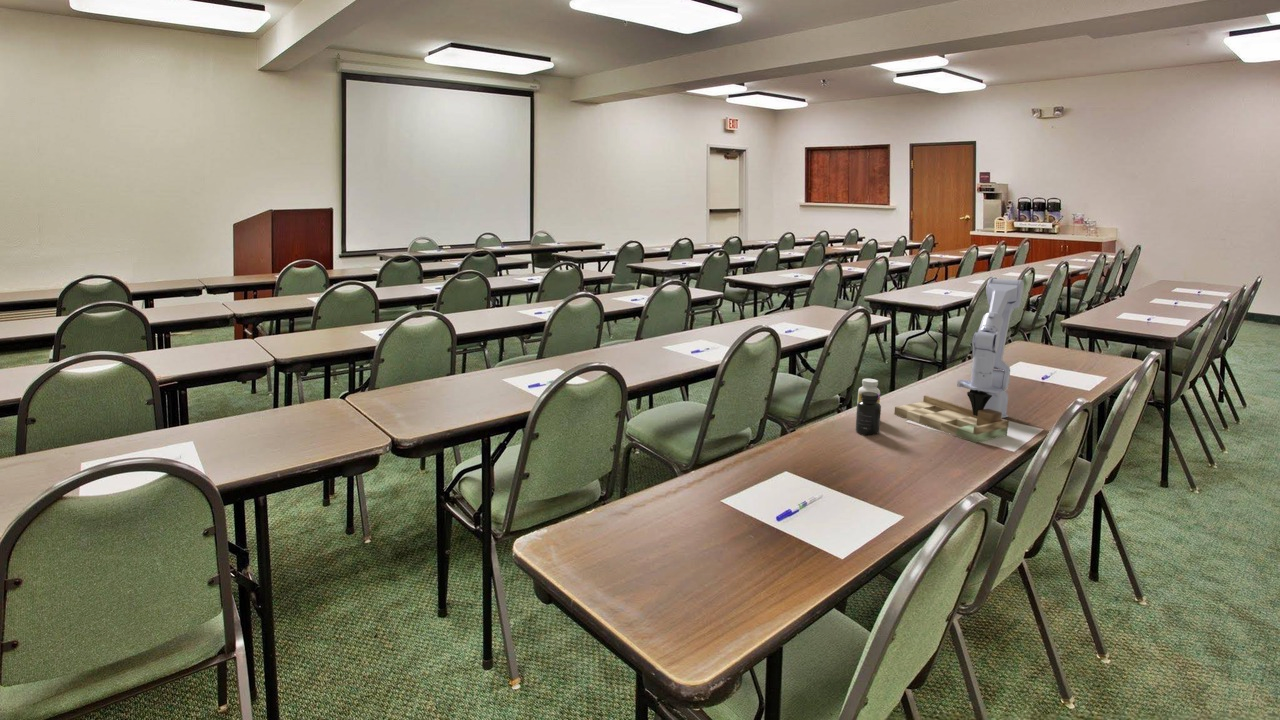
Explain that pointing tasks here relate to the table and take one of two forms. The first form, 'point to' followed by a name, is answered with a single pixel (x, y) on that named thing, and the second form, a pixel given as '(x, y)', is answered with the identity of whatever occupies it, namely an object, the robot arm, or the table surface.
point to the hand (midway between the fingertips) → (977, 415)
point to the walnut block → (988, 416)
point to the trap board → (951, 419)
